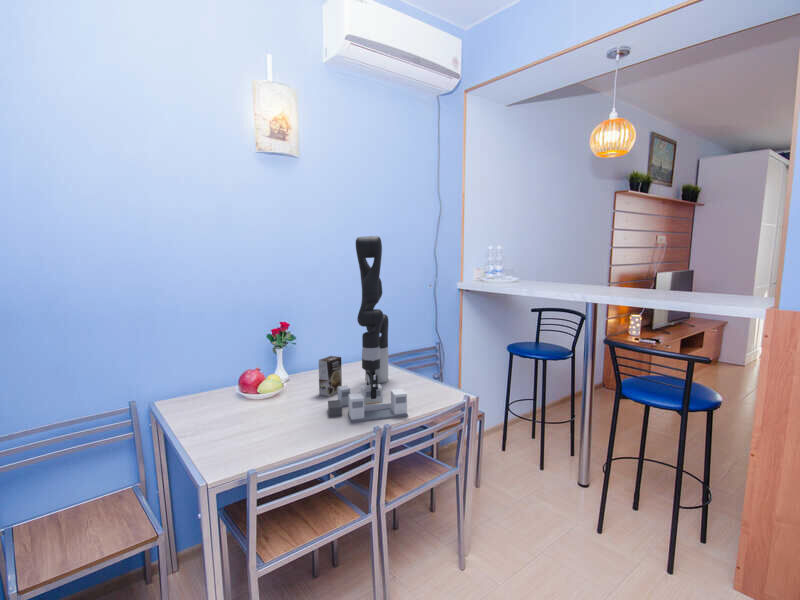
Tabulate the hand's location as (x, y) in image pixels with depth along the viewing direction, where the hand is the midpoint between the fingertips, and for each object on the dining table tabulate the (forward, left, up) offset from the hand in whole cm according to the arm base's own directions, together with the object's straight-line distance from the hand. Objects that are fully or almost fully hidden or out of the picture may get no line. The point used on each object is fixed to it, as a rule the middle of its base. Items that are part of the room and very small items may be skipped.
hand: (371, 395), depth 173 cm
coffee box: (-20, -15, -5) cm, 26 cm away
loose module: (0, 0, -5) cm, 5 cm away
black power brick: (+4, -16, -5) cm, 17 cm away
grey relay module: (-5, -11, -4) cm, 13 cm away
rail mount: (+11, 0, -4) cm, 12 cm away
